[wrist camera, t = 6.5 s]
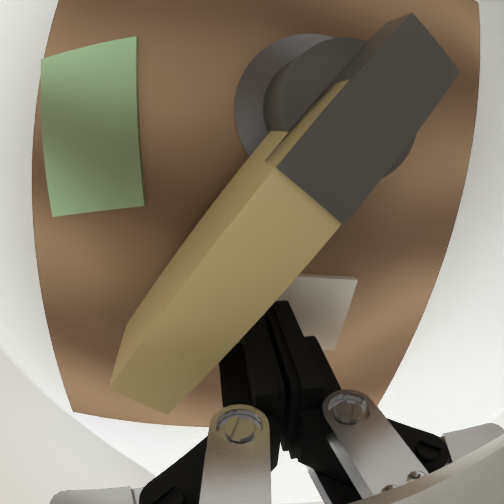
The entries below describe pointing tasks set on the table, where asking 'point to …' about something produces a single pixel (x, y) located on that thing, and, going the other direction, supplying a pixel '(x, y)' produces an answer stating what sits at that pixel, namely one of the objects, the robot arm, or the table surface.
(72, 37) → the wooden lever switch board
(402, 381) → the table surface
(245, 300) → the lever handle
